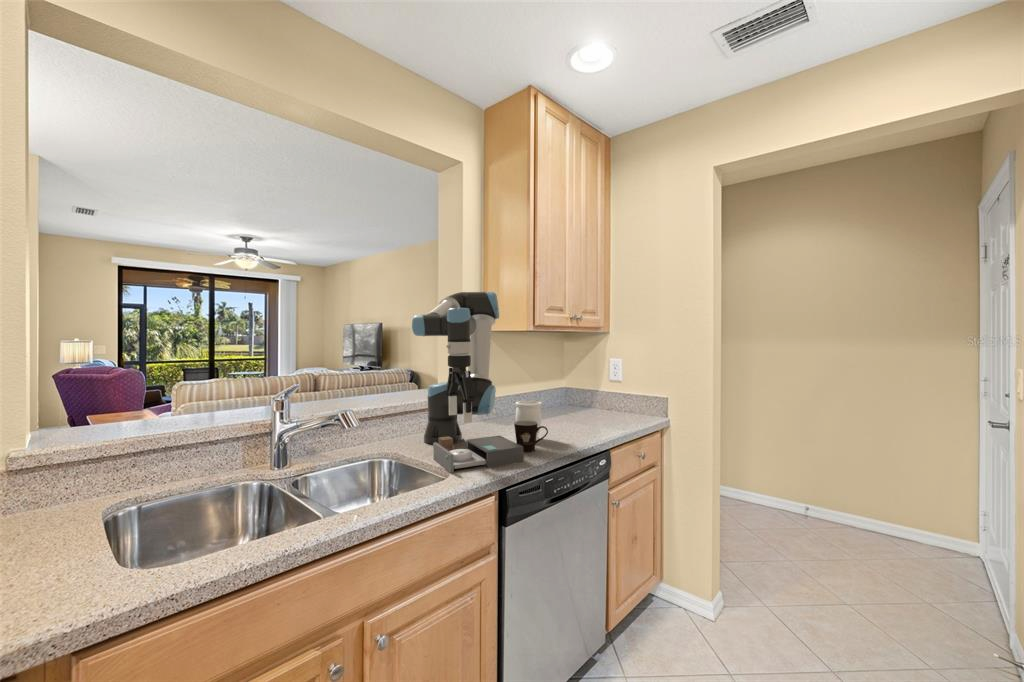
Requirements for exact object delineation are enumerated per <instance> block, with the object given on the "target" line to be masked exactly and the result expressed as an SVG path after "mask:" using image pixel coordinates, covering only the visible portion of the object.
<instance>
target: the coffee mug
mask: <svg viewBox="0 0 1024 682" xmlns="http://www.w3.org/2000/svg"><path fill="white" fill-rule="evenodd" d="M513 424H514V431H515V432H514V433H515V443H517V444H519V445H521V446H523V453H533V452H535V450H536V444H537V443H538V442H540V441H542V440H544V438H545V437H547V435H548V433H549V431H548V428H547V427H546V426H544V425H540V427H538V428H537V425H538V423H537V422H535V421H517V422H516V421H515V422H514V423H513ZM539 429H540V430H541V429H545V430H546V432H545V434H544V435H543V436H542V437H539V440H537V441H536V434H537V432H538V430H539Z"/></svg>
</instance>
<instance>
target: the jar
mask: <svg viewBox="0 0 1024 682" xmlns="http://www.w3.org/2000/svg"><path fill="white" fill-rule="evenodd" d="M515 406H516V410H515V422H517V421H535V422H537V423H538V425H537V428H538V427H541V426H542V409H541V406H542V402H541V401H537V400H518V401H516V402H515ZM540 431H541V428H540V429H539V430H538V432H537V434H536V441H537V440H539V439H540V437H539V434H540Z"/></svg>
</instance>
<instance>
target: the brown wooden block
mask: <svg viewBox="0 0 1024 682" xmlns="http://www.w3.org/2000/svg"><path fill="white" fill-rule="evenodd" d="M439 445H441V446H442V447H444V448H445V449H446V450H448V451H451V450H454V443H453V438H451V437H449V436H448V437H440V438H439Z"/></svg>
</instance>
